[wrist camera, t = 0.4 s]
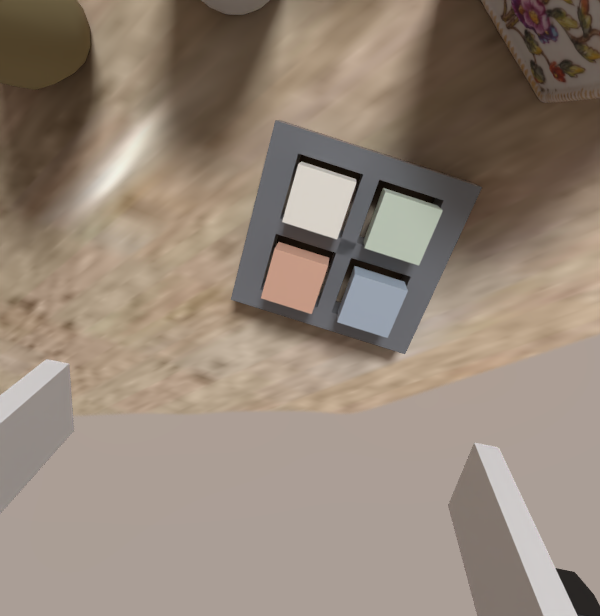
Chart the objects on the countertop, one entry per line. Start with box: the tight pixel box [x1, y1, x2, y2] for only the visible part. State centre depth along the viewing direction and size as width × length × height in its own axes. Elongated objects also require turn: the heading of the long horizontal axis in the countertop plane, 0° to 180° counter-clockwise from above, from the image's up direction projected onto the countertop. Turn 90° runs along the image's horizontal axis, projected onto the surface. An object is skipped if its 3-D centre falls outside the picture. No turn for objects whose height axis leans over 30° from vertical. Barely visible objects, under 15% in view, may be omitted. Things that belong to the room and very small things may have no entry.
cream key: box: [282, 161, 356, 239], centre depth 30 cm, size 4×4×3 cm
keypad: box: [231, 120, 482, 354], centre depth 34 cm, size 15×14×3 cm
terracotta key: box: [261, 242, 329, 314], centre depth 33 cm, size 4×4×3 cm
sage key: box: [364, 188, 443, 265], centre depth 31 cm, size 4×4×3 cm
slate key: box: [337, 266, 408, 338], centre depth 33 cm, size 4×4×3 cm
